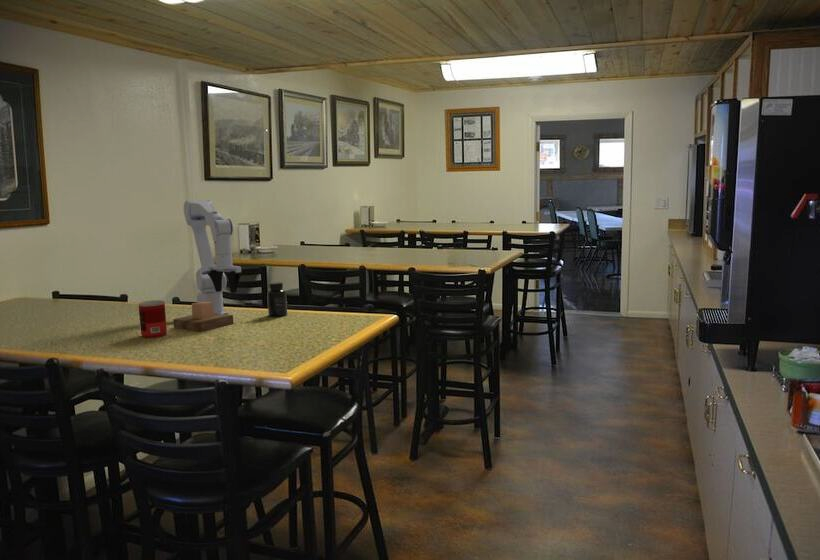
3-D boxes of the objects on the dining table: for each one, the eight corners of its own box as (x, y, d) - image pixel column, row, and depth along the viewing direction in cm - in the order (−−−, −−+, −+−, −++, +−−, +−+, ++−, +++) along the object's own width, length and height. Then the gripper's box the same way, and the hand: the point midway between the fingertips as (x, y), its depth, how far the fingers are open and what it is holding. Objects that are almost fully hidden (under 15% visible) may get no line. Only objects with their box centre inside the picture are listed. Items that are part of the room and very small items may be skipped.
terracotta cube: (192, 317, 232) (191, 303, 231) (204, 315, 236) (203, 301, 235) (202, 319, 229) (201, 304, 228) (213, 316, 233) (212, 302, 233)
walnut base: (173, 327, 231) (173, 319, 230) (206, 320, 243) (205, 312, 242) (201, 331, 224) (201, 322, 223) (233, 323, 235) (233, 315, 235)
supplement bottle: (289, 313, 251) (287, 281, 249) (284, 317, 244) (282, 284, 243) (271, 313, 252) (269, 281, 250) (265, 317, 245) (264, 284, 243)
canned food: (172, 333, 222) (169, 300, 221) (155, 338, 215) (152, 304, 213) (153, 332, 225) (150, 299, 223) (136, 337, 217) (133, 304, 216)
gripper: (200, 254, 238) (203, 292, 240) (229, 255, 230) (232, 294, 232) (215, 252, 244) (218, 289, 246) (244, 253, 236) (247, 291, 238)
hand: (226, 291), depth 239 cm, fingers open, 7 cm apart
